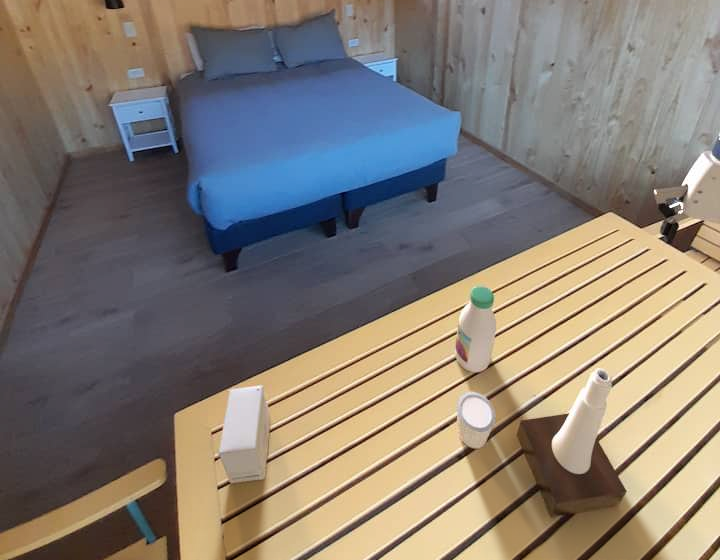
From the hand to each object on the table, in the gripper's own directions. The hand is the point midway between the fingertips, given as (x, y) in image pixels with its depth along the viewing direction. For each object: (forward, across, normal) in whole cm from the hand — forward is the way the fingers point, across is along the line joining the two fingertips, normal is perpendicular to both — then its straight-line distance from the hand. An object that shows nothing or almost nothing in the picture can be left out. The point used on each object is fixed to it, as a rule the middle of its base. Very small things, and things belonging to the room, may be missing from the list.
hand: (702, 247), depth 64 cm
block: (+40, +12, +19) cm, 46 cm away
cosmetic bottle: (+36, +12, +19) cm, 42 cm away
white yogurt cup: (+40, +28, +20) cm, 53 cm away
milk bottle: (+40, +31, +5) cm, 51 cm away
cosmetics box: (+40, +65, +40) cm, 86 cm away
